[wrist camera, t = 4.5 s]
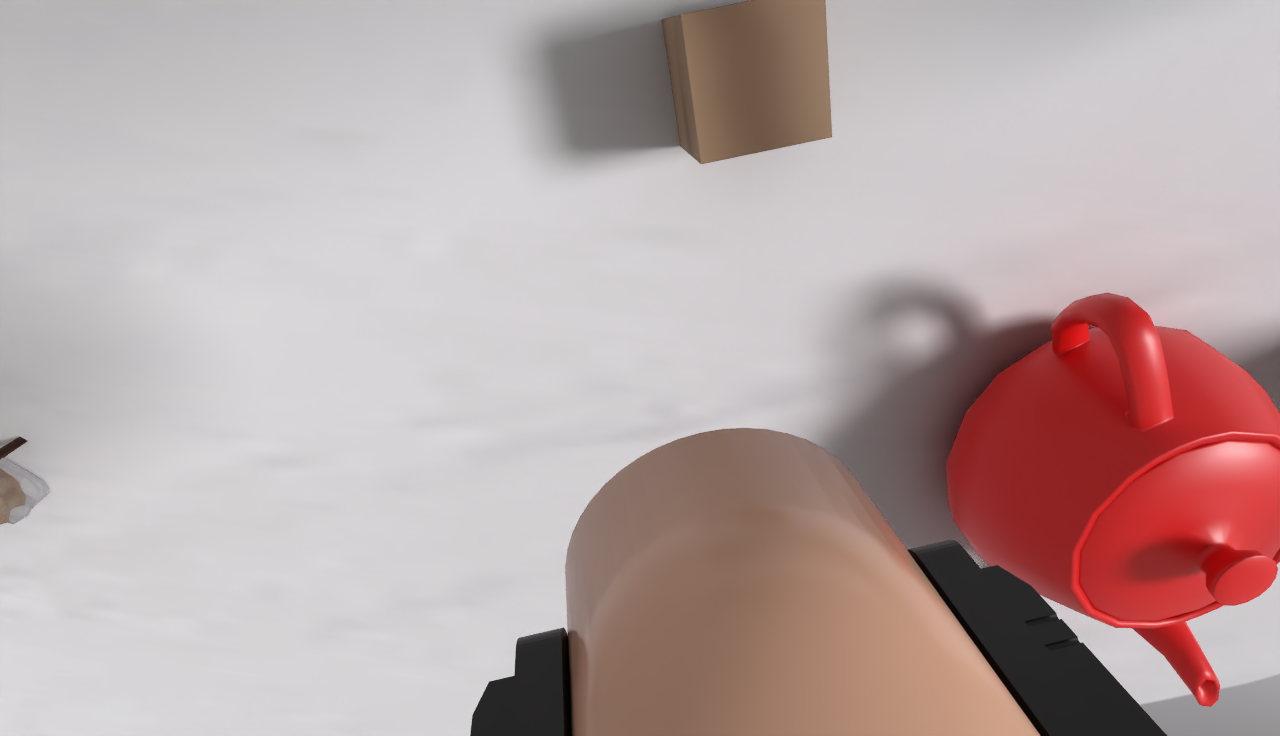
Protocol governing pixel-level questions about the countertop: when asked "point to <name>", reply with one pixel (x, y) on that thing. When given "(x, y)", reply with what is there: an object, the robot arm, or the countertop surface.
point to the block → (749, 77)
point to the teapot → (1125, 477)
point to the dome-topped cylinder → (761, 605)
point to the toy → (17, 487)
